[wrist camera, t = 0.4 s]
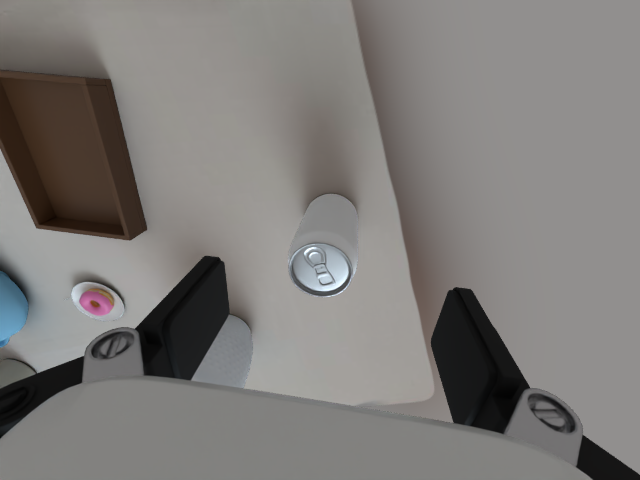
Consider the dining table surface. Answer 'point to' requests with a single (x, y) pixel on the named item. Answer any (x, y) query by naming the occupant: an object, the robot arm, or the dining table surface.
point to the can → (325, 247)
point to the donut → (97, 301)
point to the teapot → (11, 309)
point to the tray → (69, 154)
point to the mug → (228, 356)
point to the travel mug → (13, 371)
